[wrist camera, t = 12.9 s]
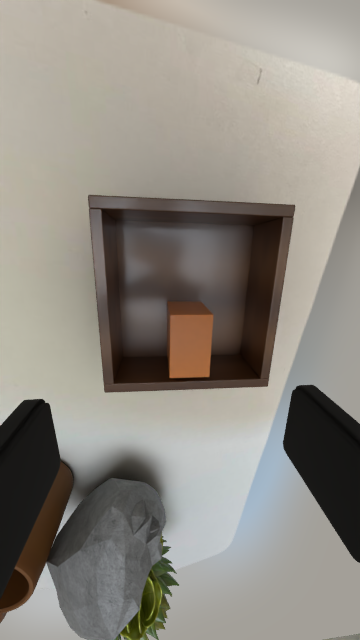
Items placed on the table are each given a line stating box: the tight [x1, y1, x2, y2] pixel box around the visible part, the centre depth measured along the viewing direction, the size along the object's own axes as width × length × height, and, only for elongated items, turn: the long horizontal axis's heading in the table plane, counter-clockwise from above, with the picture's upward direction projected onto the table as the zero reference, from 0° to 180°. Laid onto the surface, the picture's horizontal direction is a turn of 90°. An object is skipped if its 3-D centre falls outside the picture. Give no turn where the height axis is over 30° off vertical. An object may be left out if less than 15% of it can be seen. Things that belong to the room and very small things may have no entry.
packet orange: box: [167, 302, 213, 378], centre depth 20 cm, size 6×3×5 cm, turn 179°
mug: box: [0, 462, 73, 623], centre depth 23 cm, size 12×8×9 cm, turn 167°
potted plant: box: [46, 478, 179, 640], centre depth 24 cm, size 12×13×15 cm
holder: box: [88, 195, 295, 392], centre depth 19 cm, size 15×14×6 cm
